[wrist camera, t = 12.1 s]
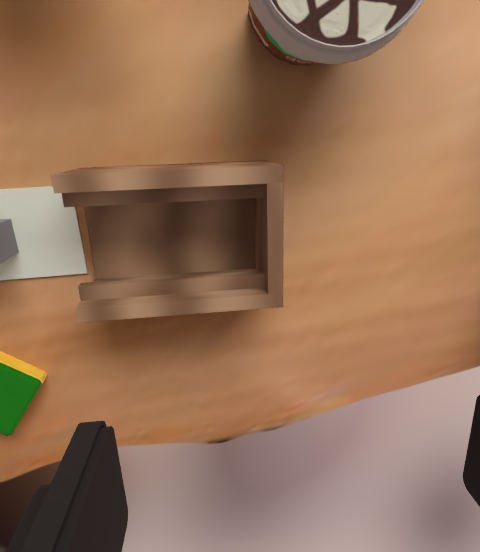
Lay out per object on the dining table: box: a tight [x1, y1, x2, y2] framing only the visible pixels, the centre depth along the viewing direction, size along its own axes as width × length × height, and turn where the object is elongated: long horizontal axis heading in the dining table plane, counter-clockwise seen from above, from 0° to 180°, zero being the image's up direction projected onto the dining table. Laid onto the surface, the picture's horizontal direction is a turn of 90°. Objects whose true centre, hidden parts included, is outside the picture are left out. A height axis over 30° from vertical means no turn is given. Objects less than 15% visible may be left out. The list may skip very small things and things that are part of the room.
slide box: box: [51, 161, 283, 323], centre depth 33 cm, size 16×11×8 cm
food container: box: [248, 0, 424, 65], centre depth 28 cm, size 12×6×10 cm, turn 106°
